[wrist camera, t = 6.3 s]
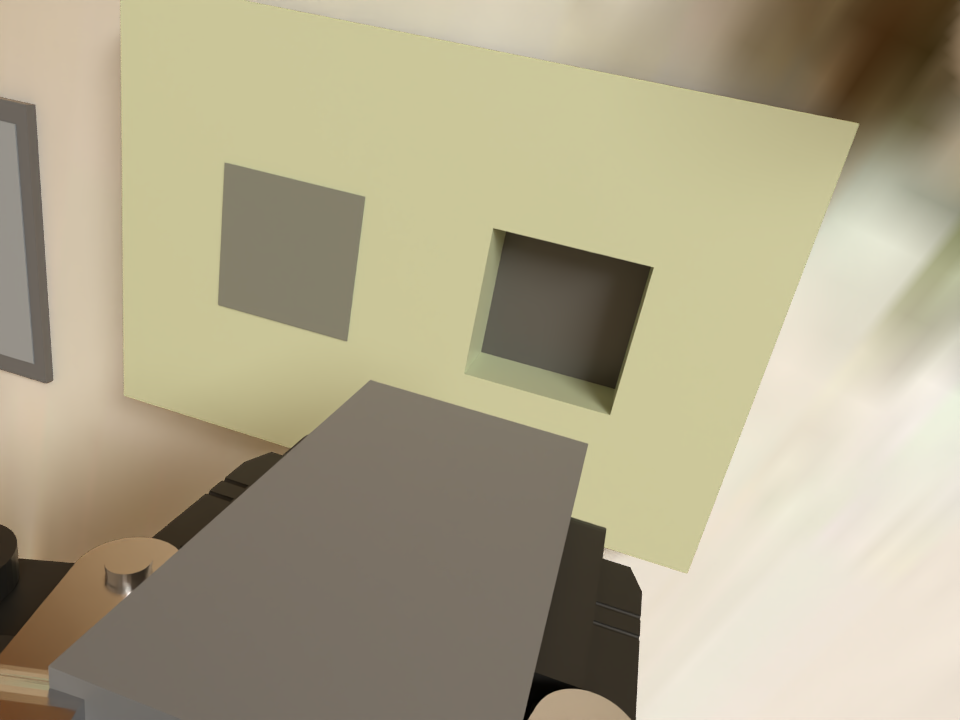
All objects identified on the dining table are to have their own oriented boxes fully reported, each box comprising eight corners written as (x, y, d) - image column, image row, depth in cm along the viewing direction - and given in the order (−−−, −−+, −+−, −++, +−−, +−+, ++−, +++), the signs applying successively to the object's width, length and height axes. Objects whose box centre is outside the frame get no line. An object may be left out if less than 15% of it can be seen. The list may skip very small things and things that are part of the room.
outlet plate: (177, -10, 26) (118, -25, 23) (835, 122, 22) (860, 123, 19) (170, 371, 32) (122, 396, 29) (685, 528, 28) (687, 574, 25)
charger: (369, 379, 12) (49, 665, 6) (588, 443, 12) (493, 844, 5) (343, 561, 14) (65, 946, 7) (535, 627, 13) (411, 1109, 7)
